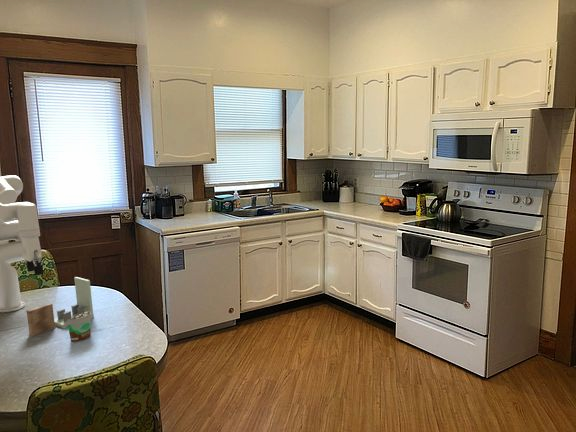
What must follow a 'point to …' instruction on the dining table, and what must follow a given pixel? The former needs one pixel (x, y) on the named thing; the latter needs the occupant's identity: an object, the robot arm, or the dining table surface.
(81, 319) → the food container
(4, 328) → the dining table surface
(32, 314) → the wooden block
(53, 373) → the dining table surface
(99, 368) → the dining table surface
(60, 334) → the dining table surface
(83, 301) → the hinge base
